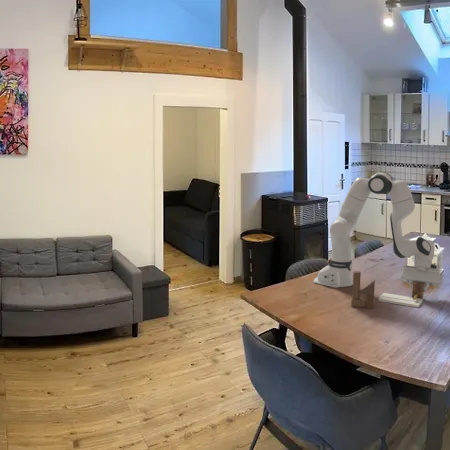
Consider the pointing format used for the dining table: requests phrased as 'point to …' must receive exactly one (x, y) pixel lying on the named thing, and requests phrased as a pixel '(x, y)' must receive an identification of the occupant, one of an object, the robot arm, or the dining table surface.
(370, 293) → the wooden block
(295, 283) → the dining table surface
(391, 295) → the board
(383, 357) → the dining table surface
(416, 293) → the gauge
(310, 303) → the dining table surface
